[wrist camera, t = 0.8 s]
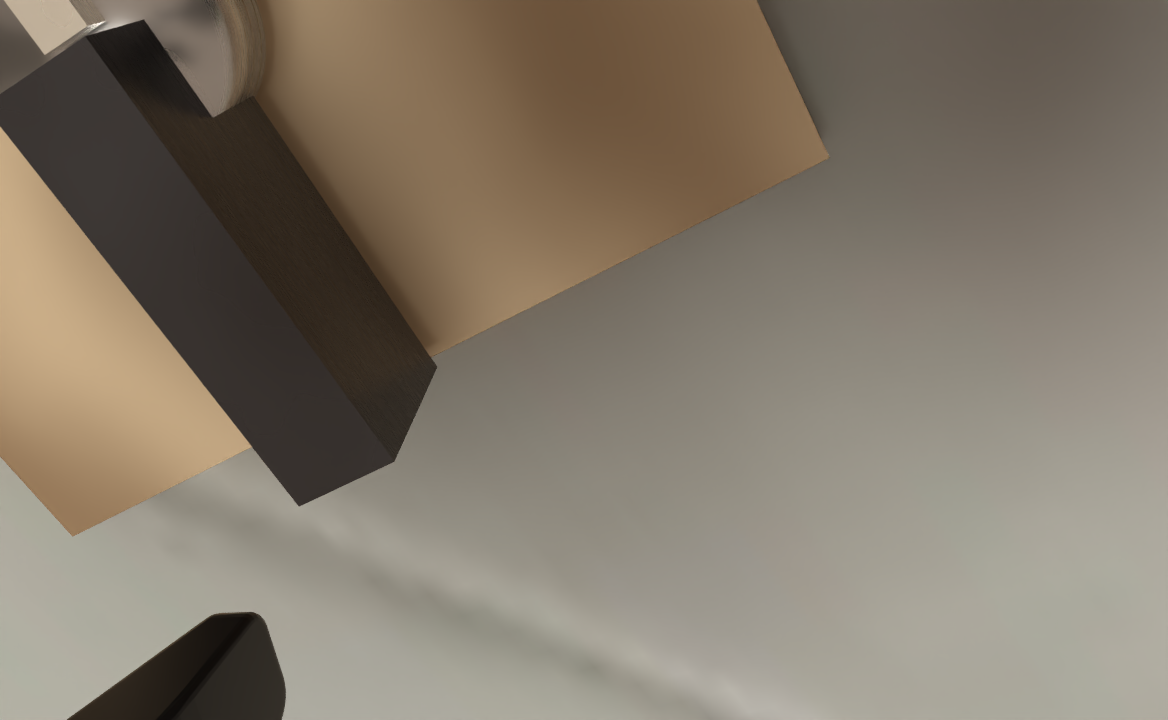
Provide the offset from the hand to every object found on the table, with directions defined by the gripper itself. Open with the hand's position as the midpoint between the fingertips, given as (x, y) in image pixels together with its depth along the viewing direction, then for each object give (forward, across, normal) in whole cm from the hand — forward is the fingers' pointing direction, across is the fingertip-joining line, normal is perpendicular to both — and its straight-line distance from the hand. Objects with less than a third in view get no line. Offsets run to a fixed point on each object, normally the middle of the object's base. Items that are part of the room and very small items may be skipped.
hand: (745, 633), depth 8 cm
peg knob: (+9, +8, -4) cm, 13 cm away
